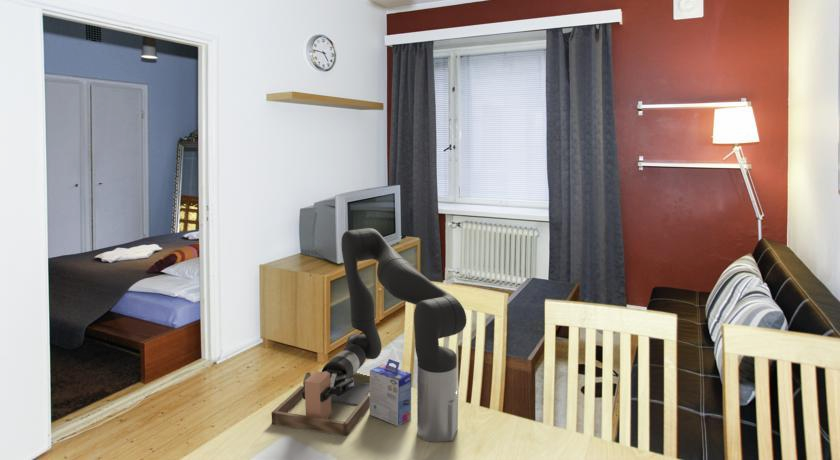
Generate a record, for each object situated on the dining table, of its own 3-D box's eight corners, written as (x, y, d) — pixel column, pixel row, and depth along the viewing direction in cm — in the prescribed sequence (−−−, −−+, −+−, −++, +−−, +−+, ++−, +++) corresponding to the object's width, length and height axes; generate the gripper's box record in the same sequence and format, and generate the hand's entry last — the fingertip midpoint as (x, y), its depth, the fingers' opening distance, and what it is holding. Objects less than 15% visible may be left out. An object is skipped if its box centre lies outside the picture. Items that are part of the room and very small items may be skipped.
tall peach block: (331, 413, 142) (330, 373, 140) (320, 425, 136) (319, 383, 134) (317, 411, 143) (315, 371, 141) (306, 422, 137) (304, 381, 135)
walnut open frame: (369, 406, 146) (369, 395, 145) (347, 435, 132) (346, 424, 131) (300, 396, 151) (300, 386, 151) (271, 423, 137) (271, 412, 137)
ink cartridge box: (412, 418, 140) (412, 364, 138) (398, 427, 136) (398, 371, 133) (383, 406, 146) (382, 354, 143) (368, 415, 142) (367, 361, 139)
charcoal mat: (374, 385, 158) (374, 384, 158) (358, 405, 146) (358, 404, 146) (329, 379, 161) (329, 378, 161) (310, 398, 150) (310, 397, 150)
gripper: (317, 352, 153) (286, 379, 137) (365, 358, 149) (339, 386, 133) (318, 378, 155) (287, 407, 138) (366, 384, 151) (340, 415, 134)
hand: (313, 397), depth 136 cm, fingers closed on tall peach block, 4 cm apart
